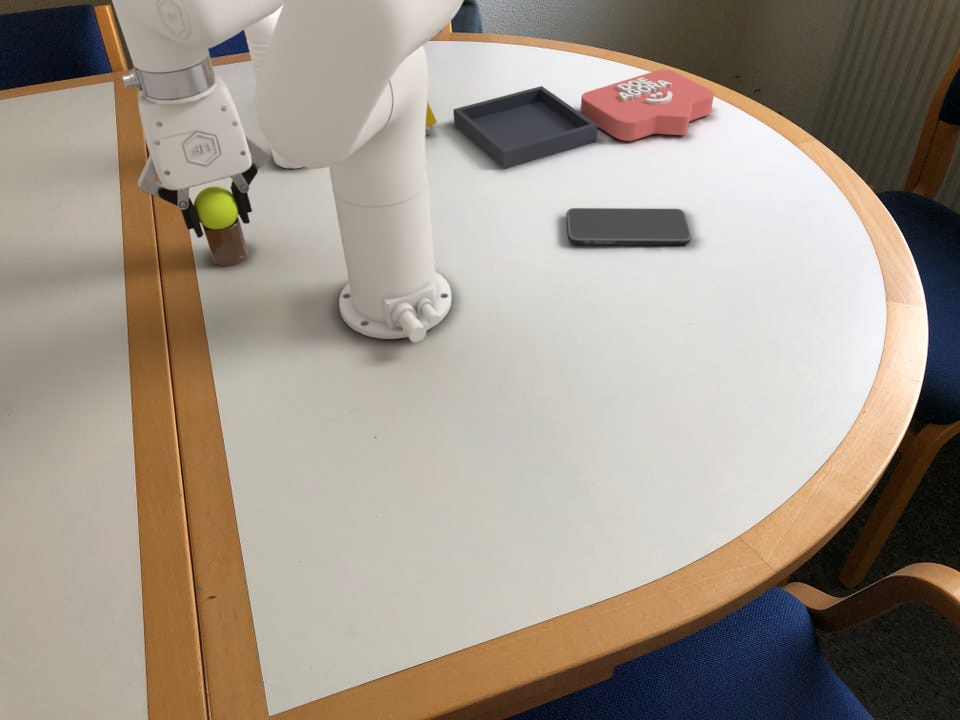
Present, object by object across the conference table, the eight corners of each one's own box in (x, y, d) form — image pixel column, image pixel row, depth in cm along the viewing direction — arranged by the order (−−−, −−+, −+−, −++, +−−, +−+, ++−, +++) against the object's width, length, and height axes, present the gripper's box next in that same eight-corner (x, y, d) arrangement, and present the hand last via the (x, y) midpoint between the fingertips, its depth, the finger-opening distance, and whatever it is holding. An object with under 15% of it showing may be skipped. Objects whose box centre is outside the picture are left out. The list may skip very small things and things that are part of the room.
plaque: (639, 129, 110) (575, 91, 120) (636, 154, 113) (574, 115, 123) (734, 96, 117) (666, 63, 126) (729, 121, 119) (663, 86, 129)
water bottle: (323, 147, 117) (291, -33, 100) (313, 170, 113) (277, -16, 96) (266, 147, 118) (224, -33, 101) (253, 169, 113) (207, -16, 96)
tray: (596, 141, 116) (597, 124, 114) (503, 169, 111) (503, 152, 109) (541, 101, 126) (541, 85, 125) (454, 125, 121) (453, 109, 120)
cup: (252, 259, 97) (242, 225, 94) (217, 270, 96) (207, 235, 92) (242, 242, 100) (233, 208, 96) (209, 252, 98) (198, 218, 95)
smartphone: (693, 240, 95) (568, 239, 96) (692, 247, 96) (568, 246, 97) (683, 207, 101) (565, 207, 101) (682, 213, 101) (565, 213, 102)
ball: (247, 230, 94) (237, 193, 90) (205, 242, 92) (193, 205, 89) (236, 210, 97) (226, 174, 94) (195, 222, 96) (184, 185, 92)
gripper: (96, 109, 77) (155, 262, 89) (267, 70, 82) (299, 219, 95) (86, 81, 82) (142, 230, 94) (247, 46, 87) (280, 191, 100)
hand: (220, 223), depth 94 cm, fingers closed on ball, 4 cm apart
